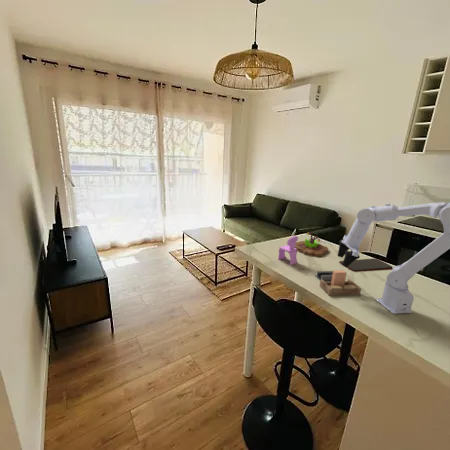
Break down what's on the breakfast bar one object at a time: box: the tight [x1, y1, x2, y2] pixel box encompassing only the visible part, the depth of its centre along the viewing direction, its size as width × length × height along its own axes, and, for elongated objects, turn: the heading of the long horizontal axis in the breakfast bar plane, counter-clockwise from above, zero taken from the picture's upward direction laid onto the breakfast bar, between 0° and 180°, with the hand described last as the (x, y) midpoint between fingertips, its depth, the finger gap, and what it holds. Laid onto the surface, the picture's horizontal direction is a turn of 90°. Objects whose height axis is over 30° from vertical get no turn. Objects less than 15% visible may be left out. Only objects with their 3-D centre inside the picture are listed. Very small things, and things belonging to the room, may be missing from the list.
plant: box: [295, 231, 329, 258], centre depth 153 cm, size 20×20×11 cm
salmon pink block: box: [331, 269, 348, 285], centre depth 109 cm, size 2×5×8 cm, turn 97°
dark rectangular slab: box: [338, 258, 394, 273], centre depth 135 cm, size 12×2×25 cm
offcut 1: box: [329, 285, 343, 290], centre depth 106 cm, size 2×5×3 cm, turn 97°
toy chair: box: [277, 235, 299, 266], centre depth 134 cm, size 8×9×15 cm
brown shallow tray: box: [319, 278, 362, 296], centre depth 108 cm, size 8×14×3 cm, turn 97°
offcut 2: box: [342, 285, 356, 290], centre depth 107 cm, size 2×5×3 cm, turn 97°
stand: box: [314, 270, 334, 282], centre depth 118 cm, size 6×9×2 cm, turn 97°
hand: (342, 261), depth 109 cm, fingers open, 7 cm apart
